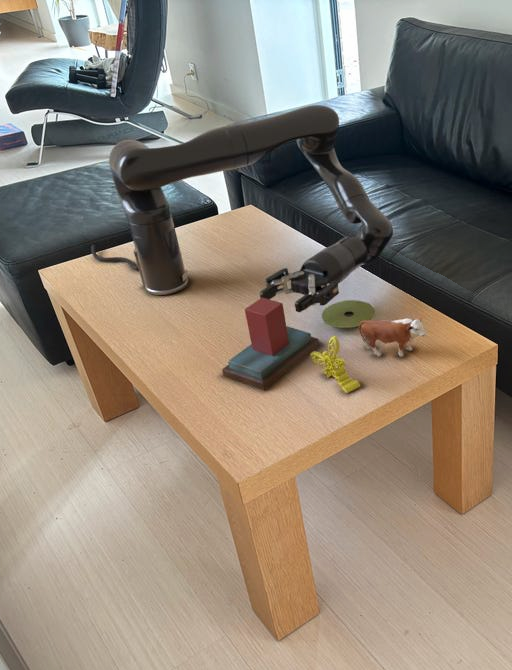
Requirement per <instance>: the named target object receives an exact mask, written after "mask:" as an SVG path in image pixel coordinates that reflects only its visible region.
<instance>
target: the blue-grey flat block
mask: <svg viewBox="0 0 512 670" xmlns="http://www.w3.org/2000/svg"><path fill="white" fill-rule="evenodd" d="M286 327H287V333H288V339H289V344H288V345H286V346H285V347H284V348H283V349H281V350H280V351H279V352H277V353H276V354H275V355H274V356H271V355H268V354H265V353H262V352H259V351H256V350H253V349H252V344H249V345H248V346H246V347H245V348H244V349H243V350H241V351H240V352H239V353H237V354H236V355H235V356H233V357H232V358H230V359H229V360H227V361H228V364H227V365H226V366H224V367H223V368H222V369H221V371H222V375H223V377H224V378H226V379H227V378H228V379H231V380H232V381H233V380H234V381H236V382H239V383H242V384H245V385H247V386H250V387H253V388H256V389H260V390H262V391H265V390H267V389H268V388H269V387H270V386H272V385H273V384H274V383H276V381H278V380H279V379H280V378H281V377H283V376H284V375H285V374H286V373H288V372H289V371H290V370H291V369H293V368H294V367H295V366H296V365H297V364H298V363H300V362H301V361H302V360H303V359H305V358H306V357H307V356H309V355H310V354H311V353H312V352H314V351H315V350H316V349H317V348H319V346H320V340H319V338H317V337H314V336H312V333H310V332H308V331H304V330H301V329H297V328H294V327H292V326H287V325H286Z"/></svg>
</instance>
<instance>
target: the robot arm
mask: <svg viewBox="0 0 512 670" xmlns="http://www.w3.org/2000/svg"><path fill="white" fill-rule="evenodd" d="M339 127H340V116H339V114H338V113H337V112H336V111H335V110H334V109H333V108H331V107H329V106H327V105H322V104H313V105H308V106H307V105H306V106H303V107H299V108H296V109H293V110H290V111H287V112H284V113H281V114H277V115H274V116H269V117H265V118H261V119H256V120H252V121H247V122H240V123H234V124H230V125H224V126H219V127H214V128H211V129H209V130H207V131H205V132H202V133H201V134H199V135H197V136H196V137H193V138H192V139H190V140H188V141H185V142H182V143H180V144H179V143H178V144H175V145H168V146H162V147H149V146H147V145H146V144H144V143H143V142H141V141H139V140H135V139H125V140H122V141H120V142H118V143H116V144H115V145H114V146H113V147H112V149H111V151H110V152H109V156H108V165H109V170H110V174H111V177H112V180H113V183H114V187H115V191H116V193H117V197H118V201H119V203H120V206H121V207H122V210H123V212H124V215H125V217H126V222H127V224H128V228H129V233H130V234H131V239H132V242H133V246H134V249H133V255H134V257H135V258H134V259H135V261H136V265H135V263H134V262H133V261H132V259H129V258H127V257H122V256H120V257H119V256H114V257H104V256H103V257H102V256H98V254H97V252H96V245H95V244H91V247H90V249H91V254H92V257H93V258H94V259H95V260H97V261H99V262H124V263H127V264H128V265H129V266H130V268H131V269H132V270H135V271H138V272H139V275H140V276H139V277H140V279H141V282H142V287H143V288H145V290H146V292H147V293H149V294H150V295H155V296H166V295H171V294H175V293H178V292H180V291H182V290H184V289H186V287H188V285H189V279H188V276H189V273H188V270H187V269H186V268H185V264H184V260H183V257H182V252H181V247H180V244H179V239H178V236H177V231H176V228H175V224H174V219H173V215H172V212H171V207H170V203H169V201H168V198H166V195H165V192H164V191H163V187H166V186H168V185H171V184H174V183H178V182H180V181H183V180H184V181H185V180H186V179H190V178H194V177H201V176H205V175H206V176H207V175H211V174H215V173H221V172H225V171H233V170H236V169H242V168H245V167H249V166H252V165H254V164H256V163H259V162H260V161H262V160H264V159H265V158H266V157H268V156H269V155H270V154H272V153H273V152H274V151H276V150H277V149H279V148H280V147H281V146H283V145H285V144H288V143H291V142H293V141H296V144H297V146H298V148H299V150H300V151H301V153H302V154H303V156H304V157H305V158H306V160H307V161H308V162H309V163H310V164H311V166H312V167H313V168H314V170H315V171H316V173H317V174H318V175H319V176H320V178H321V179H322V181H323V182H324V183H325V185H326V186H327V188H328V190H329V191H330V193H331V195H332V197H333V198H334V200H335V202H336V204H337V206H338V208H339V210H340V212H341V214H342V216H343V217H344V219H345V220H346V221H347V222H348V223H350V224H352V225H353V224H354V225H355V224H356V225H357V224H361V225H360V227H359V228H358V230H357V232H356V233H355V234H354V235H347V236H345V237H342V238H341V239H339V240H338V241H336V242H335V243H333V244H331V245H329V246H327V247H325V248H323V249H322V250H320V251H319V252H317V253H315V254H314V255H313V256H312V257H309V258H308V259H306V260H305V261H304V262H303V263H302V266H301V268H300V269H299V270H298V271H295V272H289V269H288V268H287V267H284V268H282V269H280V270H278V271H277V272H275V273H273V274H272V275H269V276H268V277H266V278H265V283H266V287H265V288H264V289H262V290H260V292H259V299H260V298H266V299H269V300H272V299H273V298H274V297H276V296H277V295H279V294H286V295H291V294H300V295H303V296H301V297H300V298H299V299H297V300H296V301H295V302H294V308H295V312H296V313H302V312H303V311H306V310H307V309H309V308H310V307H311V306H315V305H317V304H319V306H321V307H322V306H323V307H324V306H326V305H327V304H328V303H330V302H331V301H332V300H333V299H335V298H336V297H337V296H338V295H339V294H340V289H339V288H340V287H339V284H340V283H341V282H343V281H345V279H347V278H348V277H349V276H350V275H351V274H352V273H354V271H356V270H358V268H360V267H361V266H363V265H367V264H369V263H372V262H374V260H376V259H377V258H379V256H381V254H382V253H383V251H384V249H385V248H386V247H387V246H388V244H389V243H390V241H391V239H392V237H393V234H394V229H393V225H392V222H391V221H390V219H389V218H388V217H387V216H386V215H385V214H384V213H383V212H382V211H381V210H380V209H379V208H378V207H377V206H376V205H375V204H374V203H373V202H372V201H371V199H370V197H369V195H368V193H367V191H366V190H365V188H364V186H363V184H362V183H361V182H360V180H359V179H358V178H357V177H356V175H354V174H353V173H352V172H350V171H349V170H347V169H345V168H344V167H343V166H342V165H341V163H340V161H339V158H338V155H337V153H336V149H335V145H336V142H337V138H338V132H339ZM289 281H290V287H289V285H288V282H289ZM281 286H282V287H281ZM279 287H280V288H279Z"/></svg>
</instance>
